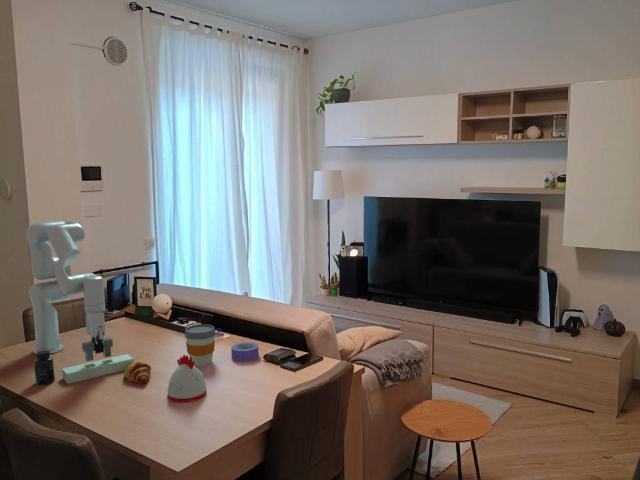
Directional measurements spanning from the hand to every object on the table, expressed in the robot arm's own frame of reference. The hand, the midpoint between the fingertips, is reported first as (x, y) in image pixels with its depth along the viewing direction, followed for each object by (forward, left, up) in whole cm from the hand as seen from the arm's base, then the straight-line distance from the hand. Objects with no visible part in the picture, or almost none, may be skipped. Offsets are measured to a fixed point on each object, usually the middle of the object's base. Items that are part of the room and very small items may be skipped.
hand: (97, 351), depth 221 cm
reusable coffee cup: (+16, +37, -9) cm, 42 cm away
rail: (0, 0, -9) cm, 9 cm away
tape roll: (+22, +55, -10) cm, 60 cm away
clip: (0, 0, -3) cm, 3 cm away
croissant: (+14, +10, -10) cm, 20 cm away
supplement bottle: (-4, -19, -9) cm, 22 cm away
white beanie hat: (+42, +18, -10) cm, 47 cm away
